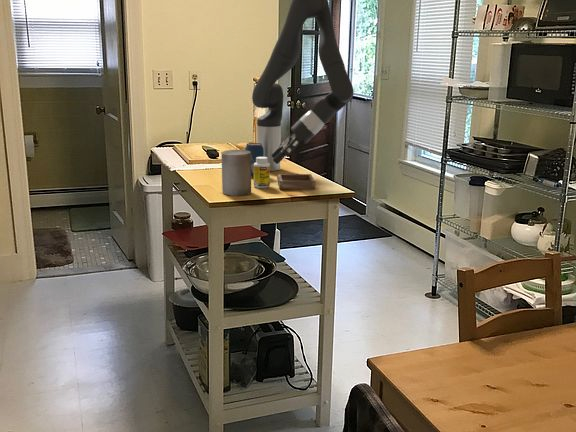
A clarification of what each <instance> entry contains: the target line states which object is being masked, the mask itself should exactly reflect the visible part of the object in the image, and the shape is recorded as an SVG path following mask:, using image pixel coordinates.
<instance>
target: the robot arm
mask: <svg viewBox="0 0 576 432" xmlns="http://www.w3.org/2000/svg"><path fill="white" fill-rule="evenodd" d="M308 19H315V21H316V24H317V27H318V31H319V32H318V33H319V38H318V39H319V40H318V57H319V61H320V63H321V65H322V68H323V71H324V73H325V76H326V77H327V80H328V84H329V86H330V90H331V91H329V93H328V94H326V96H325V97H324V98H322V99H320V100H319V101H317V102H316V103H315V104H314V105H313V106H312V107H311V108H310V109H309V110H308V111H307V112H306V113H304V114H303V115H302V116H300V118H299V119H298V120H297V121H296V122H295V123H294V124H293V125H292V126H291V127H290V130H291V131H292V132H293V134H292V133H289V135H288V136H287V137H286V138H285V139H284V140H283V141H281V134H282V133H281V129H282V128H281V127H282V126H281V125H282V119H283V109H284V108H283V107H284V91H283V88H282V86H281V85H280V84H279V83H277V82H278V80H279V79H281V78H282V77H283V76H285V75H286V74H287V73H289V72H290V71H291V70H292V69H293V67H294V66H295V65H296V63H297V61H298V58H299V57H300V54H301V52H302V41H301V30H302V28H303V27H304V24H305V22H306V21H307V20H308ZM284 21H285V22H284V24H283V27H282V29H281V31H280V34H279V37H278V38H277V40H276V43H275V45H274V48H273V49H272V52H271V54H270V57H269V60H268V62H267V63H266V65H265V67H264V70H263V71H262V74H261V75H260V77H259V78H258V79H257V80H258V81H257V82H256V83H255V86H254V88H253V90H252V96H251V100H252V104H253V106H255V107H256V108H258V109H259V108H260V109H268V110H267V111H266V112H265V114H262V115H261V116H259V117H258V118H256V143H261V144H262V146H263V149H264V157H267V158H268V162H267V163H269V164H270V172H274V171H280V170H281V161H282V160H284V158H285V157H289V156H290V155H291V154H292V153H293V152H294V151H295V150H296V148H298V147H299V146H300V142H301V141H302V143H304V144H308V142H309V141H311V139H312V138H314V137H315V136H316V135H317V134H318V133H319V132H320V131H321V130H322V128H323V127H324V126H325V125H326V124H327V123H328V122H329V121H330V120H331V119H333V117H334V115H335V114H337V113H338V112H339V111H340V110H342V109H343V108H344V107H345V106H346V105H348V104H349V103H350V101H352V99H353V97H354V95H355V94H354V86H353V84H352V81H351V79H350V77H349V75H348V73H347V70H346V66H345V63H344V60H343V57H342V55H341V52H340V49H339V48H340V47H339V46H338V42H337V39H336V38H337V37H336V35H335V29H334V24H333V18H332V14H331V9H330V4H329V1H328V0H291V2H290V4H289V9H288V12H287V15H286V18H285V20H284Z"/></svg>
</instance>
